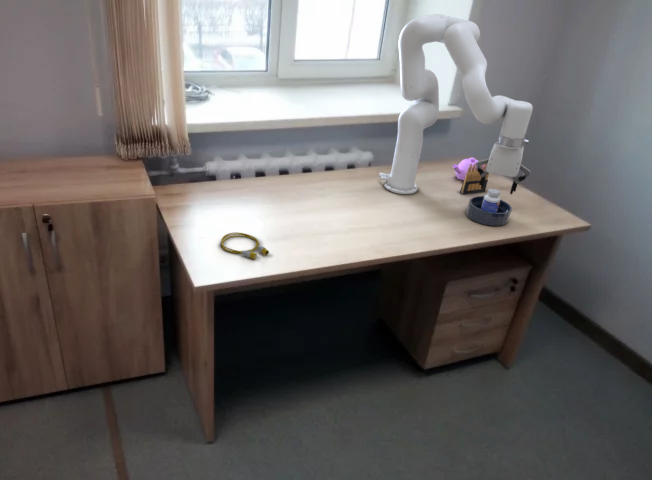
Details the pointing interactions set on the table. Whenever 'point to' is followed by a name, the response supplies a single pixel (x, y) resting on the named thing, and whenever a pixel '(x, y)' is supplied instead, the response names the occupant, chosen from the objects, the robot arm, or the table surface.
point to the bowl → (485, 216)
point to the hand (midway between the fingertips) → (496, 190)
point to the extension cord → (249, 252)
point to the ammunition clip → (473, 180)
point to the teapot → (464, 167)
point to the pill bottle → (491, 201)
